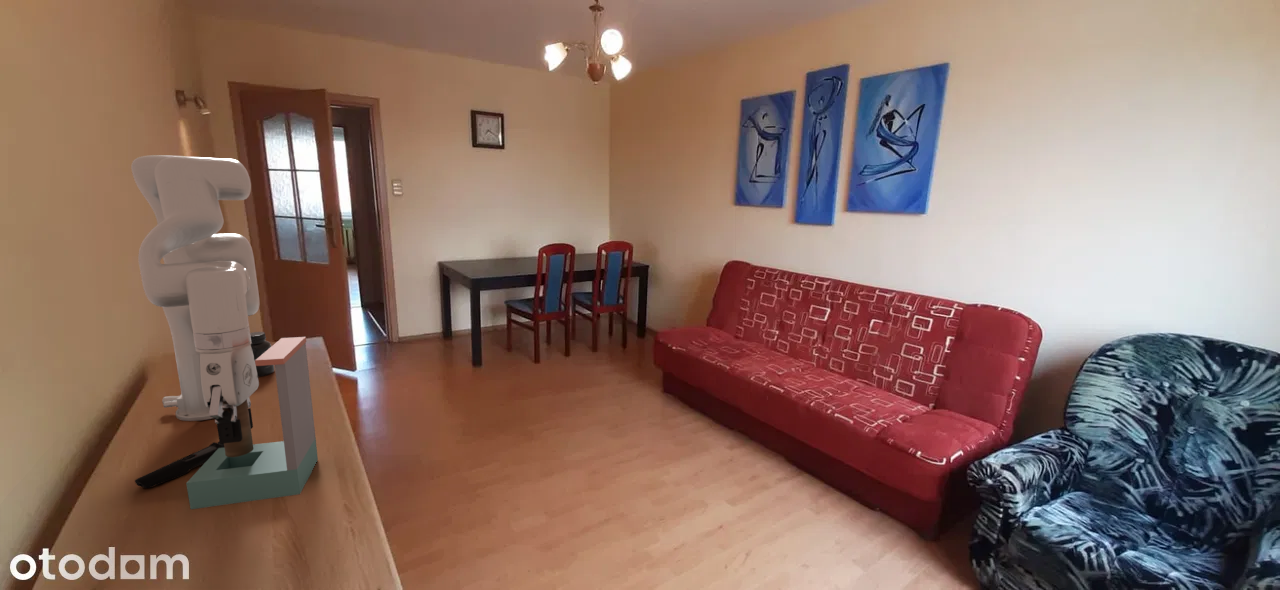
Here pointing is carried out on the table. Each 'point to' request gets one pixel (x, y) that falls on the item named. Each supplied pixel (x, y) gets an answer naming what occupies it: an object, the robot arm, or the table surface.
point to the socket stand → (268, 463)
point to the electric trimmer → (178, 467)
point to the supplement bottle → (260, 352)
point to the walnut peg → (246, 442)
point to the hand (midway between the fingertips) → (236, 434)
